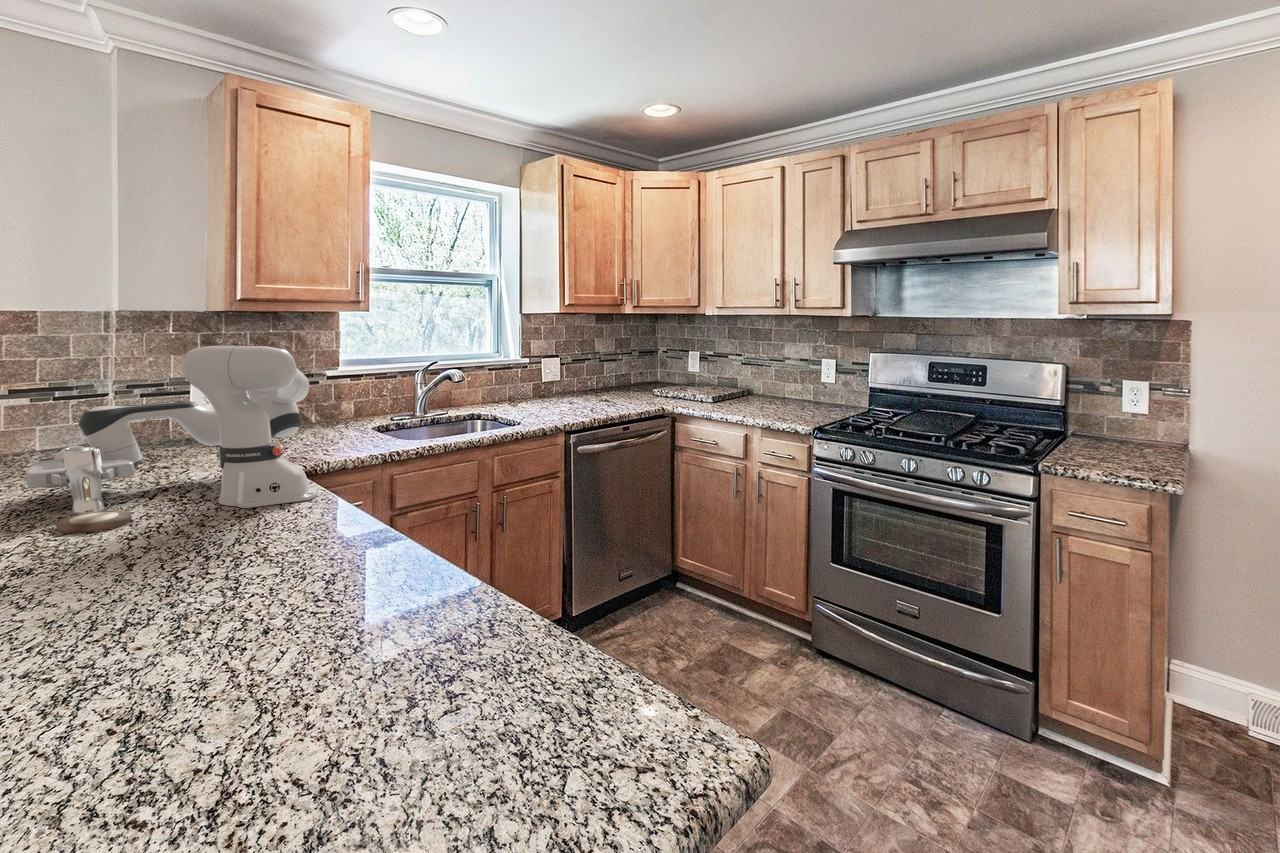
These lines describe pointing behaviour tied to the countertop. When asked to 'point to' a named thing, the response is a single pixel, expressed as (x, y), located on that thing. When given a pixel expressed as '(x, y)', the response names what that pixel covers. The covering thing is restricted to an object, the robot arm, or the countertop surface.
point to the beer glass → (84, 478)
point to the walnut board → (93, 521)
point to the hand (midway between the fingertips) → (85, 478)
